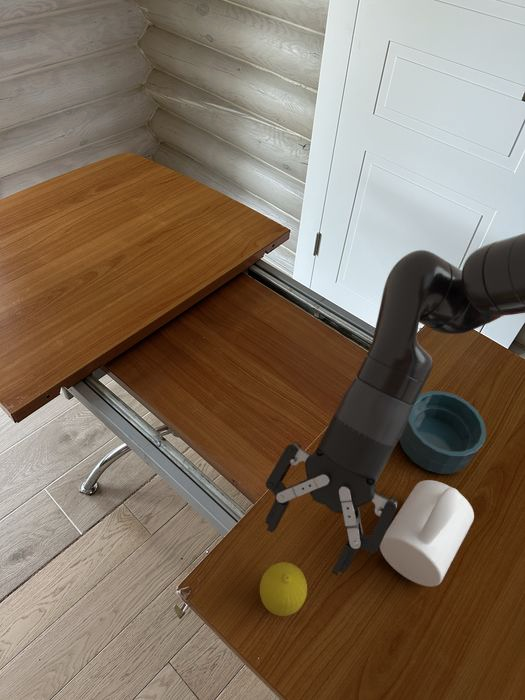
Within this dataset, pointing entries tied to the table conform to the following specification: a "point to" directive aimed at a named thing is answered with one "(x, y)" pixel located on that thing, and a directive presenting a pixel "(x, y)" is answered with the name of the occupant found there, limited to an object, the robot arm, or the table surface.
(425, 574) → the mug
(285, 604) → the lemon
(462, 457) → the bowl
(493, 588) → the table surface
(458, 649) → the table surface
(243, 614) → the table surface
